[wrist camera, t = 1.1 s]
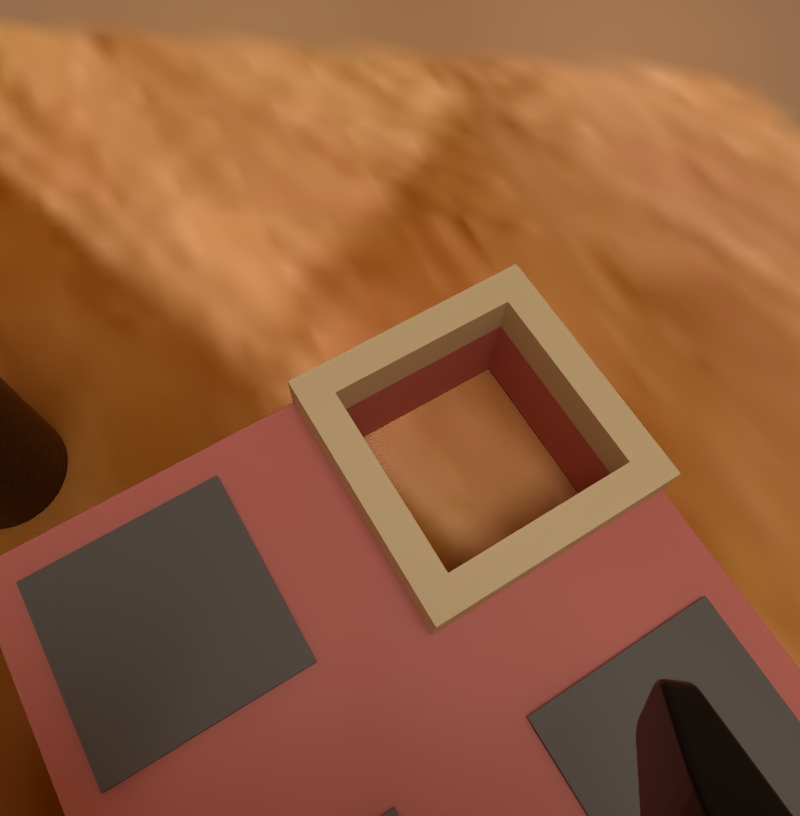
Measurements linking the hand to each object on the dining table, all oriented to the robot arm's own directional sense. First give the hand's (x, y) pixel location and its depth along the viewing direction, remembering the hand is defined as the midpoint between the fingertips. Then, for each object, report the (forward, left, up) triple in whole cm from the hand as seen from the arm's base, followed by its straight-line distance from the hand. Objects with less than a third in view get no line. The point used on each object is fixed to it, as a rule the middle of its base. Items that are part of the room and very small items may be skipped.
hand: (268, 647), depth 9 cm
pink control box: (+2, -1, -15) cm, 15 cm away
